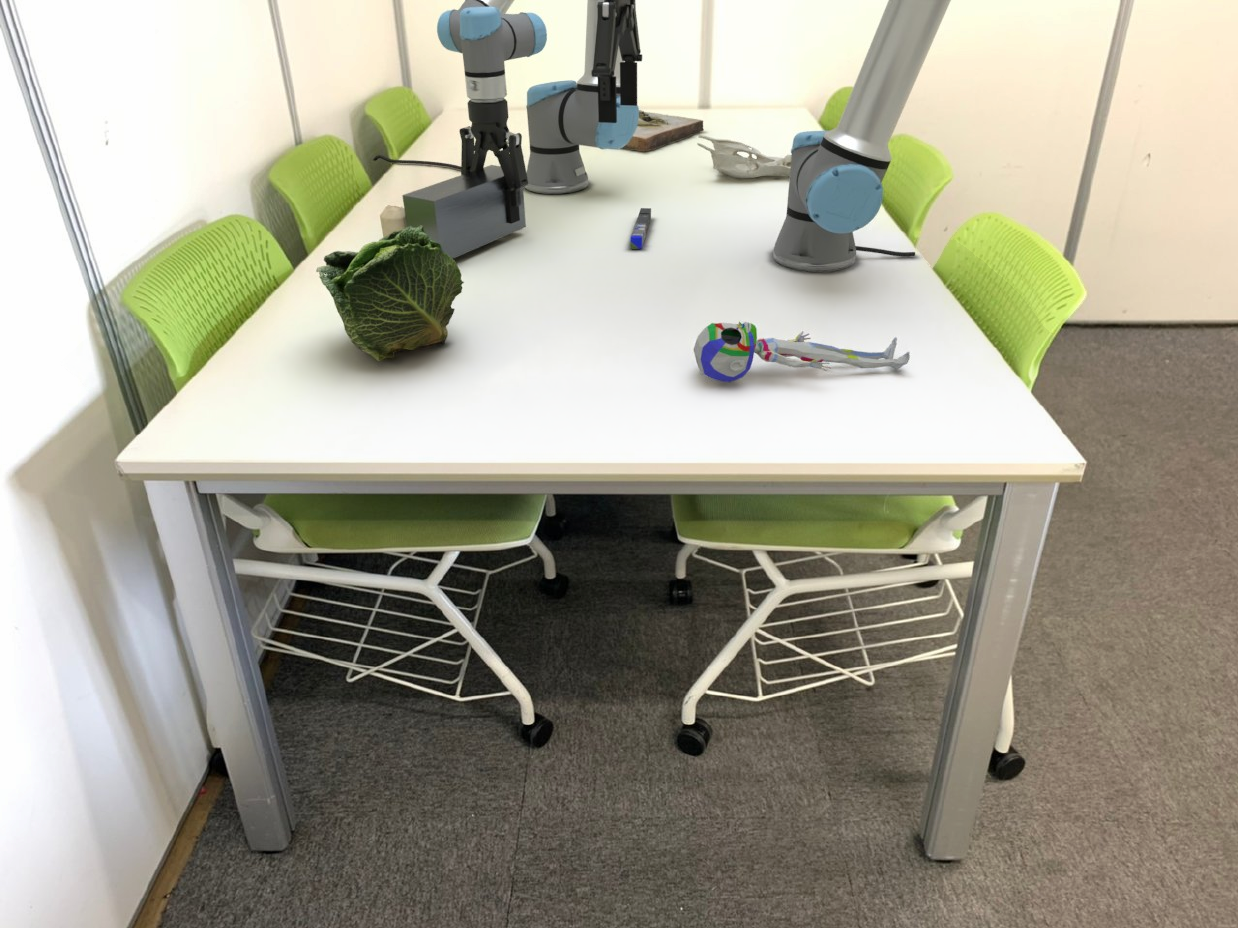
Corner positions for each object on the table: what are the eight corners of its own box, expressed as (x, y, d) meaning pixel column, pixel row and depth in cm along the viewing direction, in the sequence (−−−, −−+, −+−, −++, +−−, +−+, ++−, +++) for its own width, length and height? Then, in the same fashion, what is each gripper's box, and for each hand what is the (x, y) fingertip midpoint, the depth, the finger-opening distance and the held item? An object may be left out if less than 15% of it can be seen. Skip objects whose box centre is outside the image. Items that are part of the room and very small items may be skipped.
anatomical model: (699, 131, 223) (801, 130, 220) (699, 169, 228) (798, 168, 225) (695, 146, 211) (802, 144, 207) (695, 185, 216) (799, 184, 212)
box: (496, 221, 187) (491, 164, 181) (526, 227, 184) (521, 169, 178) (410, 256, 170) (402, 195, 163) (441, 263, 166) (434, 201, 160)
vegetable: (383, 372, 146) (305, 267, 139) (481, 306, 148) (409, 199, 140) (387, 399, 128) (297, 280, 120) (499, 324, 129) (417, 201, 122)
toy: (920, 350, 124) (709, 333, 119) (901, 404, 128) (697, 389, 123) (893, 321, 132) (695, 304, 127) (877, 373, 137) (685, 357, 132)
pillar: (651, 208, 191) (641, 238, 174) (650, 218, 192) (641, 249, 175) (640, 208, 191) (630, 238, 174) (640, 218, 192) (630, 249, 175)
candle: (421, 255, 174) (414, 203, 169) (406, 264, 170) (398, 212, 164) (396, 252, 176) (388, 201, 170) (381, 261, 171) (372, 209, 166)
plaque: (647, 125, 237) (559, 112, 252) (647, 153, 241) (560, 139, 256) (706, 107, 258) (622, 97, 273) (705, 133, 262) (622, 121, 277)
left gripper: (432, 97, 172) (447, 215, 184) (517, 107, 162) (526, 231, 174) (459, 91, 177) (471, 206, 189) (542, 100, 167) (549, 221, 179)
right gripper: (620, -33, 121) (622, 131, 132) (659, -44, 141) (658, 99, 152) (567, -33, 122) (573, 129, 134) (613, -44, 143) (615, 98, 154)
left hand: (497, 218), depth 182 cm, fingers closed on box, 8 cm apart
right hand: (618, 113), depth 143 cm, fingers open, 13 cm apart
